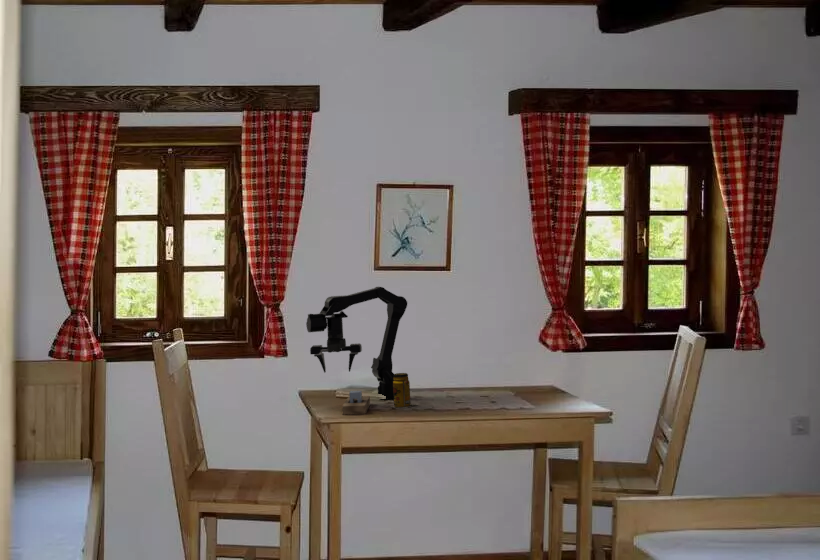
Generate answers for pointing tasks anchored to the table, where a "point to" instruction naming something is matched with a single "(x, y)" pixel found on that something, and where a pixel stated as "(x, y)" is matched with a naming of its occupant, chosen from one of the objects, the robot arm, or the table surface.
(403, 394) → the condiment
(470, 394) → the table surface
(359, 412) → the brown slotted block
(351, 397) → the clip
